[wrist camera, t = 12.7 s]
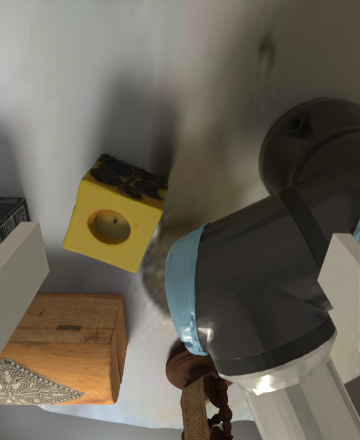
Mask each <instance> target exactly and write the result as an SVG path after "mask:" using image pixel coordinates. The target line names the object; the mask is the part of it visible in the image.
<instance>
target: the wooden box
mask: <svg viewBox="0 0 360 440" xmlns="http://www.w3.org/2000/svg"><path fill="white" fill-rule="evenodd" d="M126 350H127V335H126V326H125V314H124V306H123V296H122V295H121V294H67V293H36V295H35V297H34V298H33V300H32V302H31V304H30V305H29V307H28V309H27V310H26V312H25V314H24V315H23V317H22V319H21V320H20V322H19V324H18V325H17V327H16V329H15V330H14V332H13V334H12V335H11V337H10V339H9V341H8V342H7V344H6V346H5V347H4V349H3V351H2V352H1V354H0V404H11V405H29V404H31V405H37V404H38V405H41V404H114V403H116V401H117V399H118V395H119V389H120V384H121V383H122V377H123V371H124V363H125V357H126Z"/></svg>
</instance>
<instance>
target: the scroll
mask: <svg viewBox="0 0 360 440" xmlns="http://www.w3.org/2000/svg"><path fill="white" fill-rule="evenodd" d="M166 376H167V378H168V380H169V381H170V382H171V383H172V384H173V385H174V386H175V387H177V388H179V389H181V390H183V391H182V396H181V409H182V416H183V425H184V431H183V432H182V435H181V438H182V440H232V439H233V436H232V435H231V428H232V426H231V423H230V421H231V419H232V411H231V409H230V408H229V406H228V405H227V404H228V396H227V390H228V386H230V385H231V384H232V383H233V382H231V381H228V380H226V379H224V378H222V377H220V376H219V374H218V372H217V370H216V367H215V364H214V362H213V359H212V357H211V355H210V353H209V354H207V355H203V356H202V355H200V354H193V353H191V352H190V351H189V350H188V349H187V348H186V347H185V346H184V347H182V348H179V349H178V350H176V351H175V352H173V353H172V354H171V355H170V357H169V358H168V360H167V362H166ZM210 402H211V403H212V404H213V405H214V406H215V407H217V408H219V412H218V414H215V415H214V416H213V417H212V418H211V419H209V418H208V419H207V414H206V406H205V405H207V404H208V403H210ZM221 421H222V422H223V423H222V428H223V430H222V429H221V428H220V427H218V426H214V427H213V425H216V424H219V423H220V422H221Z"/></svg>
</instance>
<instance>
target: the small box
mask: <svg viewBox="0 0 360 440" xmlns="http://www.w3.org/2000/svg"><path fill="white" fill-rule="evenodd" d="M21 222H30V221H29V216H28V211H27V206H26V201H25V199H23V198H5V197H0V244H1V243H2V242H3V241H4V240H5V239H6V238H7V237H8V236H9V234H10V233H11V232H12V231H13V230H14V229H15V228H16V227H17V226H18V225H19V224H20V223H21Z"/></svg>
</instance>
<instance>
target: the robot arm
mask: <svg viewBox="0 0 360 440" xmlns="http://www.w3.org/2000/svg"><path fill="white" fill-rule="evenodd" d="M259 173H260V177H261V180H262V183H263V185H264V186H265V188H266V190H267V191H268V193H269V194H270V196H268V197H266V198H264V199H262V200H260V201H258V202H255V203H253V204H251V205H249V206H247V207H245V208H243V209H241V210H239V211H236V212H234V213H232V214H230V215H228V216H226V217H224V218H221V219H219V220H217V221H215V222H212V223H205V224H203V225H202V226H201V227H200V228H199V229H197V230H195V231H193V232H191V233H190V234H188V235H186V236H184V237H182V238H180V239H179V240H177V241H176V242H175V243H174V244H173V245H172V247H171V249H170V250H169V253H168V256H167V259H166V268H165V287H166V295H167V301H168V305H169V310H170V313H171V317H172V320H173V323H174V326H175V329H176V331H177V333H178V335H179V337H180V339H181V340H182V341H183V342H184V343H185V347H186V348H187V349H188V350H189V351H190V352H191V353H193V354H200V355H202V356H203V355H207V354H209V353H210V355H211V357H212V359H213V362H214V364H215V367H216V370H217V372H218V374H219V376H220V377H222V378H224V379H226V380H228V381H231V382H233V383H235V384H237V385H239V386H240V387H241V388H242V391H243V393H244V396H245V398H246V401H247V403H248V405H249V408H250V410H251V413H252V415H253V418H254V420H255V423H256V425H257V428H258V430H259V432H260V435H261V438H262V440H360V418H359V416H358V414H357V412H356V410H355V408H354V406H353V404H352V402H351V400H350V398H349V395H348V393H347V391H346V389H345V387H344V385H343V383H342V381H341V378H340V376H339V374H338V372H337V370H336V368H335V366H334V364H333V362H332V360H331V358H330V350H331V348H332V346H333V343H334V341H335V339H336V336H337V330H336V327H335V326H334V323H333V321H332V319H331V317H330V315H329V313H328V311H329V310H331V309H333V308H334V310H335V312H336V313H337V315H338V317H339V319H340V320H341V322H342V324H343V325H344V327H345V329H346V331H347V332H348V334H349V336H350V337H351V339H352V341H353V343H354V344H355V346H356V348H357V349H358V351H359V353H360V106H359V105H357V104H354V103H352V102H349V101H346V100H342V99H337V98H319V99H314V100H310V101H307V102H305V103H302V104H300V105H298V106H296V107H294V108H293V109H291V110H290V111H288V112H287V113H286V114H284V115H283V116H282V117H281V118H280V119H279V120H278V121H277V122H276V123H275V124H274V125H273V127H272V128H271V129H270V131H269V132H268V134H267V136H266V138H265V140H264V142H263V144H262V147H261V150H260V155H259ZM49 272H50V270H49V266H48V261H47V257H46V252H45V248H44V243H43V239H42V234H41V230H40V225H39V222H21V223H20V224H19V225H18V226H17V227H16V228H15V229H14V230H13V231H12V232H11V233H10V234H9V236H8V237H7V238H6V239H5V240H4V241H3V242H2V243H1V244H0V354H1V352H2V351H3V349H4V347H5V346H6V344H7V342H8V341H9V339H10V337H11V335H12V334H13V332H14V330H15V329H16V327H17V325H18V324H19V322H20V320H21V319H22V317H23V315H24V314H25V312H26V310H27V309H28V307H29V305H30V304H31V302H32V300H33V298H34V297H35V295H36V293H37V292H38V290H39V288H40V287H41V285H42V283H43V282H44V280H45V278H46V277H47V275H48V273H49Z"/></svg>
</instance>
